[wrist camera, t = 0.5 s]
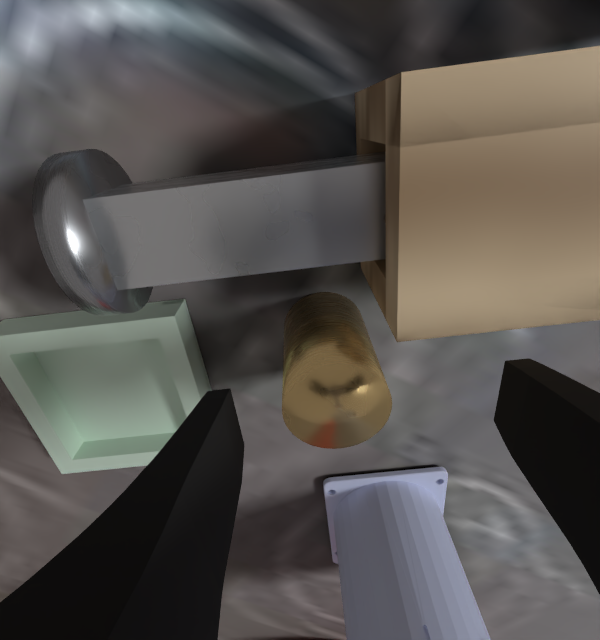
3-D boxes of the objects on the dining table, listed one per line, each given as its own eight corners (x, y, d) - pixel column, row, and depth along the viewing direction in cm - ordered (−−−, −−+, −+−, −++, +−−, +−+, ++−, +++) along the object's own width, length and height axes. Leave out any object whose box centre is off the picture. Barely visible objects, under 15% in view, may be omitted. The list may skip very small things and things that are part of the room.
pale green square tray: (224, 433, 22) (219, 457, 20) (78, 448, 22) (61, 473, 20) (184, 298, 18) (174, 315, 16) (4, 319, 18) (-24, 338, 16)
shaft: (449, 244, 16) (518, 297, 11) (145, 280, 17) (85, 345, 12) (462, 100, 14) (559, 88, 9) (99, 147, 14) (-2, 160, 9)
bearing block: (534, 248, 17) (660, 313, 11) (360, 268, 17) (396, 342, 11) (571, 64, 13) (779, 22, 8) (354, 93, 14) (401, 72, 8)
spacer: (363, 356, 19) (391, 442, 14) (289, 364, 20) (289, 453, 14) (361, 287, 18) (392, 358, 12) (279, 297, 18) (274, 371, 12)
